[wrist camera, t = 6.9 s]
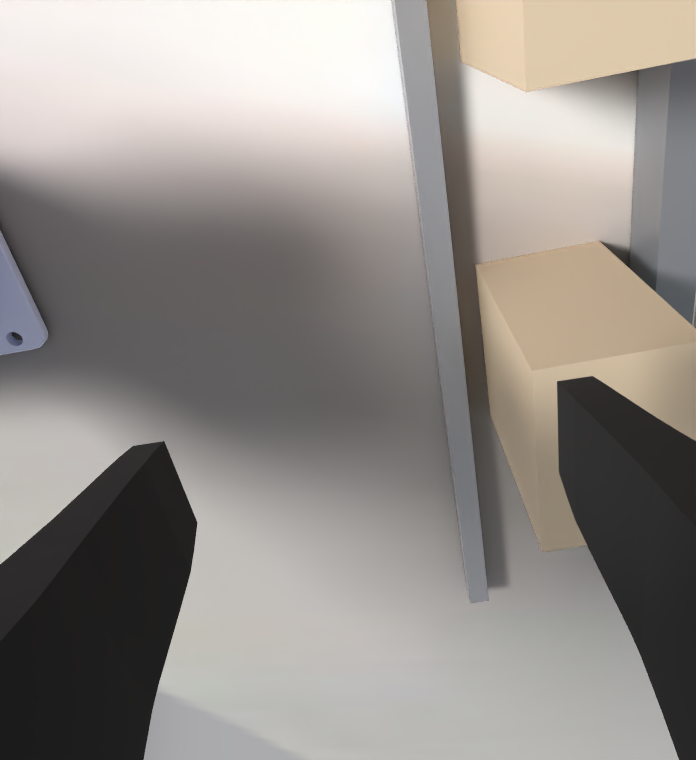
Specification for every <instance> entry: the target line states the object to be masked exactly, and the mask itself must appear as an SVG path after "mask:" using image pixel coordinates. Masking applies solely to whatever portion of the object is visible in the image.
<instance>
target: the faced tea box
mask: <svg viewBox="0 0 696 760" xmlns="http://www.w3.org/2000/svg"><path fill="white" fill-rule="evenodd" d="M456 10H457V22H458V34H459V46H460V58H461V62H463V63H465V64H467V65H469V66H471V67H473V68H476V69H478V70H480V71H482V72H484V73H486V74H488V75H491V76H493V77H495V78H497V79H499V80H501V81H503V82H506V83H508V84H510V85H512V86H514V87H516V88H518V89H521V90H523V91H525V92H529V91H534V90H539V89H544V88H549V87H554V86H559V85H564V84H569V83H574V82H579V81H584V80H589V79H594V78H599V77H604V76H609V75H615V74H620V73H625V72H630V71H635V70H640V69H645V68H650V67H655V66H660V65H665V64H670V63H675V62H680V61H685V60H690V59H695V58H696V0H456Z"/></svg>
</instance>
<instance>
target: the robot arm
mask: <svg viewBox="0 0 696 760" xmlns="http://www.w3.org/2000/svg"><path fill="white" fill-rule="evenodd" d="M11 332H16V333H18V334H19V335H20V336H21V337H22V339H23V341H19V340H17V339H15V338H14V337H13V336H12V333H11ZM47 339H48V331H47V328H46V326H45V324H44V322H43V320H42V318H41V315H40V313H39V311H38V309H37V307H36V305H35V303H34V301H33V298H32V296H31V294H30V292H29V290H28V288H27V286H26V284H25V282H24V279H23V277H22V275H21V273H20V271H19V269H18V267H17V265H16V262H15V260H14V258H13V256H12V254H11V252H10V250H9V248H8V246H7V243H6V241H5V239H4V237H3V235H2V233H1V231H0V355H5V354H10V353H16V352H21V351H27V350H33V349H37V348H39V347H41V346H42V345H43V344H44V343H45V341H46V340H47ZM557 408H558V457H559V474H560V477H561V480H562V483H563V486H564V489H565V492H566V495H567V499H568V501H569V504H570V507H571V510H572V513H573V516H574V518H575V521H576V523H577V525H578V527H579V529H580V531H581V534H582V536H583V538H584V540H585V542H586V544H587V546H588V548H589V550H590V552H591V554H592V556H593V558H594V560H595V562H596V564H597V566H598V568H599V570H600V572H601V574H602V576H603V578H604V580H605V582H606V584H607V586H608V588H609V590H610V592H611V594H612V596H613V598H614V600H615V602H616V604H617V606H618V608H619V610H620V612H621V614H622V616H623V618H624V620H625V622H626V624H627V626H628V628H629V630H630V632H631V635H632V637H633V639H634V641H635V644H636V646H637V648H638V650H639V653H640V655H641V657H642V660H643V663H644V665H645V668H646V671H647V673H648V676H649V679H650V681H651V684H652V687H653V689H654V692H655V695H656V697H657V700H658V702H659V705H660V708H661V710H662V713H663V716H664V719H665V721H666V724H667V727H668V730H669V733H670V735H671V738H672V741H673V744H674V746H675V749H676V752H677V755H678V758H679V760H696V441H695V440H693V439H691V438H690V437H688V436H686V435H685V434H683V433H681V432H680V431H678V430H676V429H675V428H673V427H671V426H670V425H668V424H666V423H665V422H663V421H662V420H660V419H658V418H657V417H655V416H654V415H652V414H650V413H649V412H647V411H646V410H644V409H643V408H641V407H640V406H638V405H637V404H635V403H633V402H632V401H630V400H629V399H627V398H626V397H624V396H623V395H621V394H620V393H618V392H617V391H615V390H614V389H612V388H611V387H609V386H608V385H606V384H605V383H603V382H602V381H600V380H598V379H597V378H595V377H593V376H589V377H582V378H576V379H569V380H563V381H557ZM196 529H197V521H196V518H195V516H194V513H193V511H192V509H191V506H190V504H189V501H188V499H187V496H186V494H185V491H184V489H183V486H182V484H181V481H180V479H179V477H178V474H177V472H176V469H175V467H174V464H173V462H172V459H171V457H170V454H169V452H168V449H167V447H166V444H165V442H164V441H163V442H156V443H150V444H143V445H137V446H133V447H131V448H130V449H129V450H128V451H126V452H125V453H124V454H123V455H121V456H120V457H119V458H118V459H117V460H116V461H115V462H114V463H112V464H111V465H110V466H109V467H108V468H107V469H106V470H105V471H104V472H103V473H102V474H101V475H100V476H99V477H97V478H96V479H95V480H94V481H93V482H92V483H91V484H90V485H89V486H88V487H87V488H86V489H85V490H84V491H83V492H81V493H80V494H79V495H78V496H77V497H76V498H75V499H74V500H73V501H72V502H71V503H70V504H69V505H68V506H67V507H65V508H64V509H63V510H62V511H61V512H60V513H59V514H58V515H57V516H56V517H55V518H54V519H52V520H51V521H50V522H49V523H48V524H47V525H46V526H44V527H43V528H42V529H41V530H40V531H39V532H38V533H36V534H35V535H34V536H33V537H32V538H31V539H30V540H28V541H27V542H26V543H25V544H24V545H23V546H21V547H20V548H19V549H18V550H17V551H16V552H15V553H13V554H12V555H11V556H10V557H9V558H8V559H6V560H5V561H4V562H3V563H1V564H0V760H143V759H144V753H145V748H146V742H147V736H148V731H149V725H150V719H151V714H152V709H153V705H154V701H155V696H156V693H157V688H158V684H159V681H160V677H161V674H162V670H163V667H164V663H165V660H166V657H167V653H168V650H169V646H170V643H171V639H172V636H173V632H174V629H175V626H176V622H177V619H178V615H179V612H180V608H181V605H182V601H183V597H184V594H185V590H186V587H187V583H188V579H189V576H190V572H191V566H192V559H193V553H194V545H195V537H196Z"/></svg>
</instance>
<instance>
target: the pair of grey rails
mask: <svg viewBox="0 0 696 760" xmlns="http://www.w3.org/2000/svg"><path fill="white" fill-rule="evenodd" d="M391 1H392V9H393V17H394V25H395V33H396V40H397V48H398V56H399V64H400V72H401V79H402V87H403V95H404V103H405V111H406V119H407V126H408V134H409V142H410V150H411V158H412V165H413V173H414V181H415V189H416V197H417V204H418V212H419V220H420V228H421V236H422V244H423V251H424V259H425V267H426V275H427V283H428V290H429V298H430V306H431V314H432V322H433V330H434V337H435V345H436V353H437V361H438V369H439V376H440V384H441V392H442V400H443V408H444V415H445V423H446V431H447V439H448V447H449V455H450V462H451V470H452V478H453V486H454V494H455V501H456V509H457V517H458V525H459V533H460V540H461V548H462V556H463V564H464V572H465V580H466V586H467V591H468V595H469V600H470V603H475V602H482V601H489V598H488V588H487V578H486V569H485V559H484V549H483V540H482V530H481V521H480V511H479V501H478V492H477V482H476V472H475V463H474V453H473V443H472V434H471V424H470V415H469V405H468V395H467V386H466V376H465V366H464V357H463V347H462V337H461V328H460V318H459V308H458V299H457V289H456V280H455V270H454V260H453V251H452V241H451V231H450V222H449V212H448V202H447V193H446V183H445V174H444V164H443V154H442V145H441V135H440V125H439V116H438V106H437V96H436V87H435V77H434V68H433V58H432V48H431V39H430V29H429V19H428V10H427V0H391ZM629 268H630V269H631V270H632V271H633V272H634V273H635V274H636V275H637V276H638V277H639V278H641V279H642V280H643V281H644V282H645V283H646V284H647V285H648V286H649V287H650V288H652V289H653V290H654V291H655V292H656V293H657V294H658V295H659V296H660V297H661V298H663V299H664V300H665V301H666V302H667V303H668V304H669V305H670V306H671V307H672V308H674V309H675V310H676V311H677V312H678V313H679V314H680V315H681V316H682V317H683V318H685V319H686V320H687V321H688V322H689V323H690V324H691V325H692V326H693V327H694V317H695V307H696V58H695V59H690V60H685V61H680V62H675V63H670V64H665V65H660V66H655V67H650V68H645V69H640V70H638V84H637V106H636V129H635V152H634V174H633V197H632V220H631V242H630V265H629Z"/></svg>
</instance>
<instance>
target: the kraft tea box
mask: <svg viewBox="0 0 696 760" xmlns="http://www.w3.org/2000/svg"><path fill="white" fill-rule="evenodd" d="M475 267H476V277H477V287H478V297H479V307H480V318H481V328H482V338H483V348H484V358H485V368H486V378H487V388H488V398H489V408H490V415H491V418H492V420H493V423H494V426H495V428H496V431H497V434H498V436H499V439H500V442H501V444H502V447H503V450H504V452H505V455H506V458H507V460H508V463H509V466H510V468H511V471H512V474H513V476H514V479H515V482H516V484H517V487H518V489H519V492H520V495H521V497H522V500H523V503H524V505H525V508H526V511H527V513H528V516H529V519H530V521H531V524H532V527H533V529H534V532H535V535H536V537H537V540H538V543H539V545H540V548H541V551H542V552H547V551H554V550H561V549H567V548H574V547H580V546H587V544H586V542H585V540H584V538H583V536H582V534H581V531H580V529H579V527H578V525H577V523H576V521H575V518H574V516H573V513H572V510H571V507H570V504H569V501H568V499H567V495H566V492H565V489H564V486H563V483H562V480H561V477H560V474H559V457H558V408H557V381H563V380H569V379H576V378H582V377H589V376H593V377H595V378H597V379H598V380H600V381H602V382H603V383H605V384H606V385H608V386H609V387H611V388H612V389H614V390H615V391H617V392H618V393H620V394H621V395H623V396H624V397H626V398H627V399H629V400H630V401H632V402H633V403H635V404H637V405H638V406H640V407H641V408H643V409H644V410H646V411H647V412H649V413H650V414H652V415H654V416H655V417H657V418H658V419H660V420H662V421H663V422H665V423H666V424H668V425H670V426H671V427H673V428H675V429H676V430H678V431H680V432H681V433H683V434H685V435H686V436H688V437H690V438H691V439H693V440H695V441H696V328H694V327H693V326H692V325H691V324H690V323H689V322H688V321H687V320H686V319H685V318H683V317H682V316H681V315H680V314H679V313H678V312H677V311H676V310H675V309H674V308H672V307H671V306H670V305H669V304H668V303H667V302H666V301H665V300H664V299H663V298H661V297H660V296H659V295H658V294H657V293H656V292H655V291H654V290H653V289H652V288H650V287H649V286H648V285H647V284H646V283H645V282H644V281H643V280H642V279H641V278H639V277H638V276H637V275H636V274H635V273H634V272H633V271H632V270H631V269H630V268H628V267H627V266H626V265H625V264H624V263H623V262H622V261H621V260H620V259H619V258H617V257H616V256H615V255H614V254H613V253H612V252H611V251H610V250H609V249H608V248H606V247H605V246H604V245H603V244H602V243H601V242H600V241H596V242H590V243H585V244H580V245H575V246H569V247H564V248H559V249H554V250H548V251H543V252H538V253H533V254H528V255H522V256H517V257H512V258H507V259H501V260H496V261H491V262H486V263H480V264H475Z"/></svg>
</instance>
